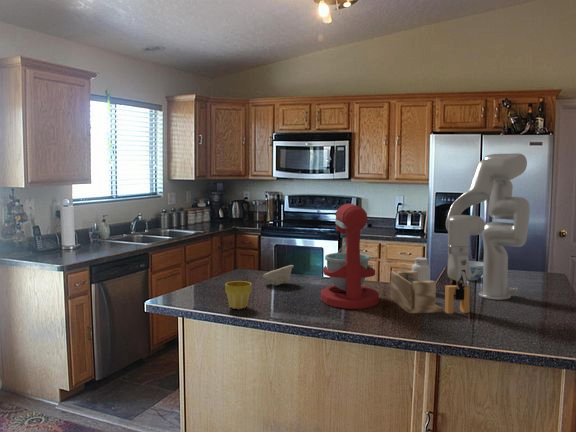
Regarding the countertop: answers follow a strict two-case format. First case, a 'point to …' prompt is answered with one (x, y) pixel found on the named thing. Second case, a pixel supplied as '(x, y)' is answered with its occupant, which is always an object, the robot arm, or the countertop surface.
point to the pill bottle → (422, 269)
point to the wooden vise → (413, 292)
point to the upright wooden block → (449, 299)
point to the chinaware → (475, 269)
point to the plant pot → (238, 293)
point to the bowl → (279, 275)
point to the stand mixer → (349, 264)
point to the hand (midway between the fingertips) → (457, 297)
